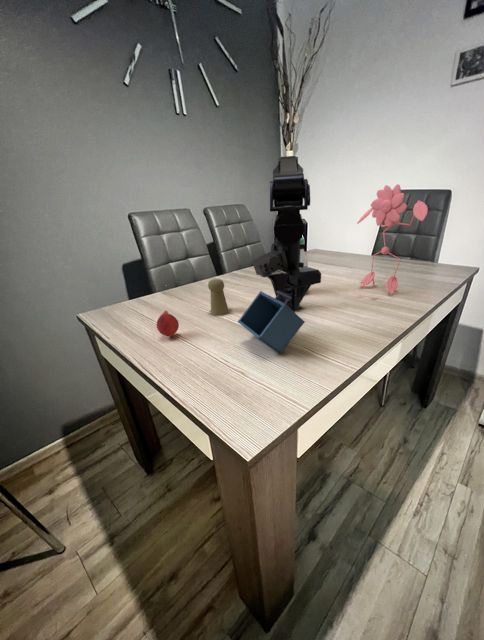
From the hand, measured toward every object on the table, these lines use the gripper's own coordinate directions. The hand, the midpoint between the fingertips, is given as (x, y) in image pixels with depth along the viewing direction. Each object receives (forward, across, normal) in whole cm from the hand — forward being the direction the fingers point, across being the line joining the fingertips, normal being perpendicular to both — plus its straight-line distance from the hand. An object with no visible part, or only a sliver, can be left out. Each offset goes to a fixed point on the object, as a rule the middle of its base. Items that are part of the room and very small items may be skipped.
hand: (286, 305), depth 69 cm
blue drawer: (+5, 0, -1) cm, 5 cm away
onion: (+11, -20, -27) cm, 35 cm away
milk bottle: (+9, -31, +25) cm, 41 cm away
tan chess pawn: (+10, -30, -8) cm, 33 cm away
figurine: (+8, -15, +48) cm, 51 cm away
